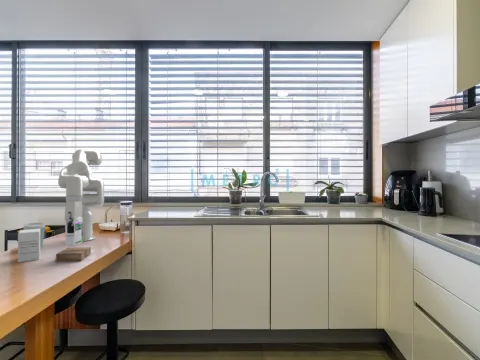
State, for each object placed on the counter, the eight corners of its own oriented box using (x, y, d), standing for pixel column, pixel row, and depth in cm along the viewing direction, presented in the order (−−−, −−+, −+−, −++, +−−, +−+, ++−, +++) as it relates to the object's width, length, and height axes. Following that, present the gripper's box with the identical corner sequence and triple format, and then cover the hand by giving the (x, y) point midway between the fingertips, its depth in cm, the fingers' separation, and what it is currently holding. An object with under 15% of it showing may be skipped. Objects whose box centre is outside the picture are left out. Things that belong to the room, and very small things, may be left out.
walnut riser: (67, 254, 149) (67, 247, 149) (90, 254, 151) (90, 247, 151) (55, 261, 137) (56, 254, 137) (81, 261, 139) (81, 253, 139)
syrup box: (74, 245, 141) (74, 218, 140) (64, 244, 142) (65, 217, 142) (82, 243, 146) (83, 216, 146) (73, 242, 147) (73, 216, 147)
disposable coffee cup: (49, 247, 163) (49, 223, 163) (29, 252, 153) (29, 226, 153) (39, 245, 167) (39, 221, 167) (19, 249, 158) (19, 224, 157)
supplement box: (19, 257, 143) (19, 229, 143) (40, 255, 148) (40, 228, 148) (17, 262, 135) (17, 233, 135) (39, 259, 140) (39, 231, 140)
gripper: (74, 197, 152) (74, 228, 152) (58, 199, 134) (58, 235, 135) (88, 197, 153) (88, 228, 153) (74, 199, 136) (74, 235, 136)
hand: (74, 231), depth 144 cm, fingers closed on syrup box, 7 cm apart
